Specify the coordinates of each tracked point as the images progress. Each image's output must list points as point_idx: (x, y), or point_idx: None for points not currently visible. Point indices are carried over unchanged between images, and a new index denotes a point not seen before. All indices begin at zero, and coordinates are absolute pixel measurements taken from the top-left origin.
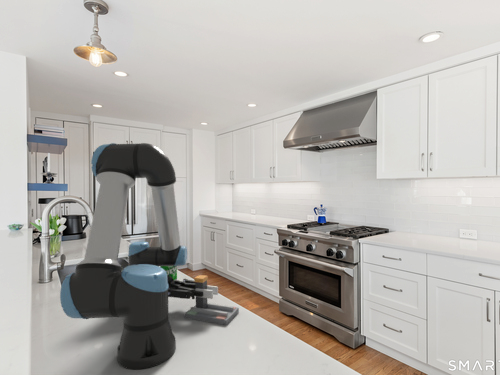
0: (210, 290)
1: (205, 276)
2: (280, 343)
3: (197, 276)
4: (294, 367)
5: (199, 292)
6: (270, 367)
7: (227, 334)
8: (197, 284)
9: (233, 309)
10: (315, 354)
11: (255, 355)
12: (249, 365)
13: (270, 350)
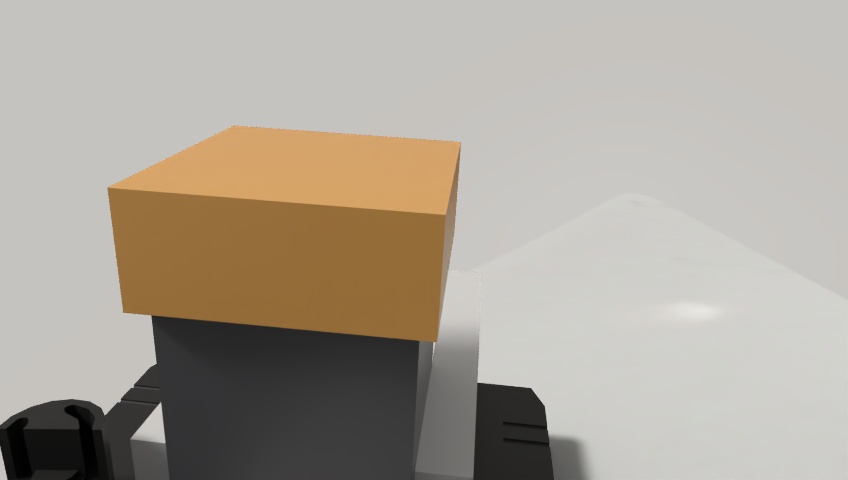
0: (464, 284)
1: (286, 133)
2: (592, 256)
3: (287, 192)
4: (711, 236)
5: (538, 418)
6: (771, 268)
7: (664, 411)
8: (423, 360)
9: None
10: (601, 210)
11: (745, 299)
12: (828, 306)
13: (667, 272)
